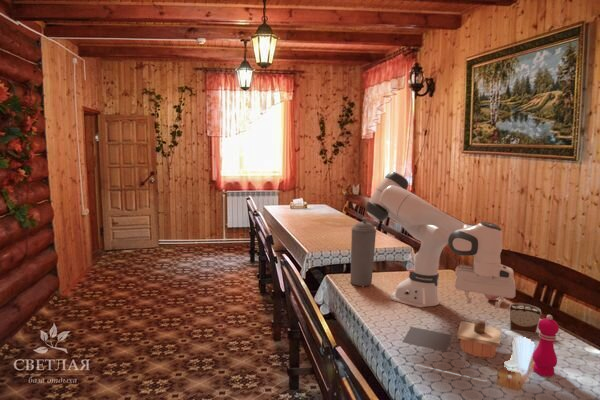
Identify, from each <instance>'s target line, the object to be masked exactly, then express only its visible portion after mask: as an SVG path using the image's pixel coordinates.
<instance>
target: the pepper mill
mask: <svg viewBox="0 0 600 400" xmlns="http://www.w3.org/2000/svg"><path fill="white" fill-rule="evenodd" d="M537 329H538V330H539V332H538V337H539V343H538V345H537V347H536V348H535V350H534V352H533V353H532V360H533V362H534V363H533V365H532V371H533V372H534V373H535V374H538V375H539V376H543V377H553V376H554V375H555V367H556V366H557V364H558V357H557V354H556V351H555V345H554V344H555V341H556V339H557V335H556V334H558V332H559V331H560V330H559V329H560V326H559V324H558V322H557V321H556V320H554V317H553V315H551V314H546V318H542V319H539V322H538V327H537Z"/></svg>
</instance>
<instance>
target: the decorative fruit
mask: <svg viewBox="0 0 600 400" xmlns="http://www.w3.org/2000/svg"><path fill="white" fill-rule="evenodd" d="M483 295H484V297H485V298H486V299H487V300H489V301H494V300H497V299H498V298H500V296H494V295H487V294H483Z"/></svg>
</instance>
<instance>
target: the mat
mask: <svg viewBox="0 0 600 400" xmlns="http://www.w3.org/2000/svg"><path fill="white" fill-rule="evenodd" d="M452 336H453V335H452V334H450V333H445V332H440V331H434V330H429V329H425V328H419V327H414V326H410V327H409V329H408V331H407V333H406V335H405V336H404V338H403V340H402V343H405V344H409V345H414V346H416V347H423V348H427V349H432V350H435V351H436V350H437V351H440V352H445V353H447V352H448V349H449V346H450V343H451V340H452Z"/></svg>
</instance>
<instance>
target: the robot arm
mask: <svg viewBox="0 0 600 400" xmlns="http://www.w3.org/2000/svg"><path fill="white" fill-rule="evenodd" d="M408 188H409V181H408V180H407V178H406V177H405V176H404V175H403V174H401V173H399V172H395V171H390V172H389V173H388V174H386V175H385V176H384V179H383V180H381V182H380V183H379V185H377V187H376V188H375V191H373V193H372V195H371V196H370V198H369V200H368V201H367V202H366V205H365V208H364V209H365V212H366V213H367V215H368V217H370V218H371V219H373V220H375V221H379V222H382V221H385V220H386V219H388V217H389V218H390V219H392V220H393V221H394V222H396V223H397V224H398V225H399V226H400V227H402V228H403V229H404V231H406V232H407V233H408V234H409V235H410V236H412V237H413V238H414V239H415V240H417V241H419V242H420V248H419V250H418V251H417V252H416V253H415V255H414V260H413V268H410V270H409V272H408V277H407V278H405V279H404V280H402V281H400V282H399V283H398V284H397V286H396V288H395V290H394V291H392V292H391V294H390V296H389V297H390V300H392V301H395V302H398V303H403V304H405V305H409V306H413V307H417V308H425V307H426V308H427V307H434V306H437V305H439V304H440V299H439V292H438V285H439V282H440V281H439V280H440V279H439V278H440V275H439V265H440V258H441V257H440V256H441V254H442V251H443V249H444V248H445V247H446V246H447V245H448V248H449V249H450V251H451V252H452V253H453V254H455V255H457V256H473V264H472V265H465V264H460V265H457V266H456V267H455V269H454V270H455V272H454V273H455V275H456V278H455V281H454V288H455V289H456V290H457V291H463V292H464V296H465V297H466V303H467V304H472V300H473V299H472V297H470V295H469V293H476V294H482V295H484V294H487V295H494V296H500V297H499V300H498V301H495V305H494V308H496V309H500V306H501V304H502V303H503V301H504V300H505V298H507V299H514V298H515V297H516V281H515V278H514V270H513V268H511V267H509V266H506V265H504V264H502V263H501V262H502V261H501V259H502V258H501V253H502V251H503V231H502V228H501V227H500V226H499V225H497V224H495V223H493V222H486V221H481V222H478V223H477V224H472V223H467V222H464V221H462V220H460V219H459V218H457V217H454V216H453V215H451V214H448V213H447V212H445V211H443V210H440V209H439V208H437V207H435V206H434V205H433V204H431V203H429V202H427V201H426V200H424V199H423V198H421V197H419V195H416V194H415V193H413V192H412V191H409V190H408Z"/></svg>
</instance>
